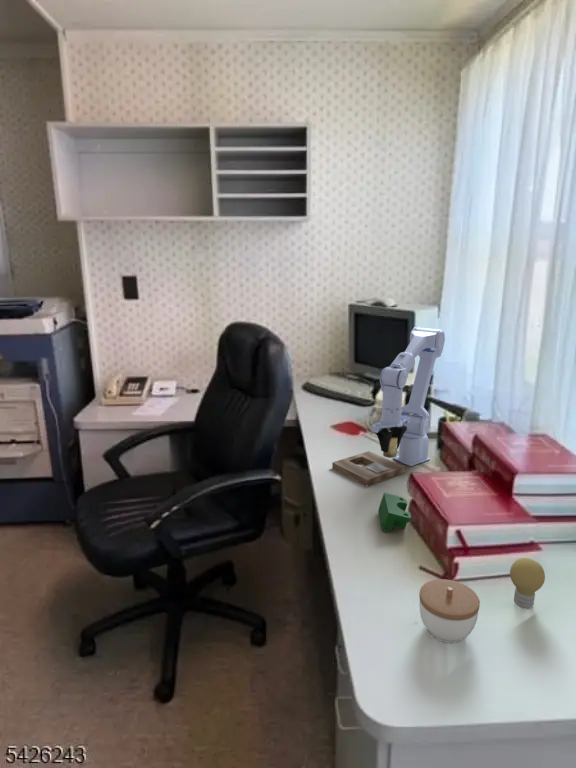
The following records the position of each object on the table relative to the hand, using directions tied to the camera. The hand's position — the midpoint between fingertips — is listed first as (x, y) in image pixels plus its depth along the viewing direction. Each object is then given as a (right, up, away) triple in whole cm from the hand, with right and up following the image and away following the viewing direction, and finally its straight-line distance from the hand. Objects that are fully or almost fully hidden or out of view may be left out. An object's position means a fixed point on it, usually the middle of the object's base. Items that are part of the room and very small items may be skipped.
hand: (389, 449), depth 168 cm
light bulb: (+17, -25, -56) cm, 64 cm away
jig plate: (-6, -7, +7) cm, 11 cm away
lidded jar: (-1, -27, -64) cm, 69 cm away
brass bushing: (0, -2, 0) cm, 2 cm away
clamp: (-4, -16, -25) cm, 30 cm away
